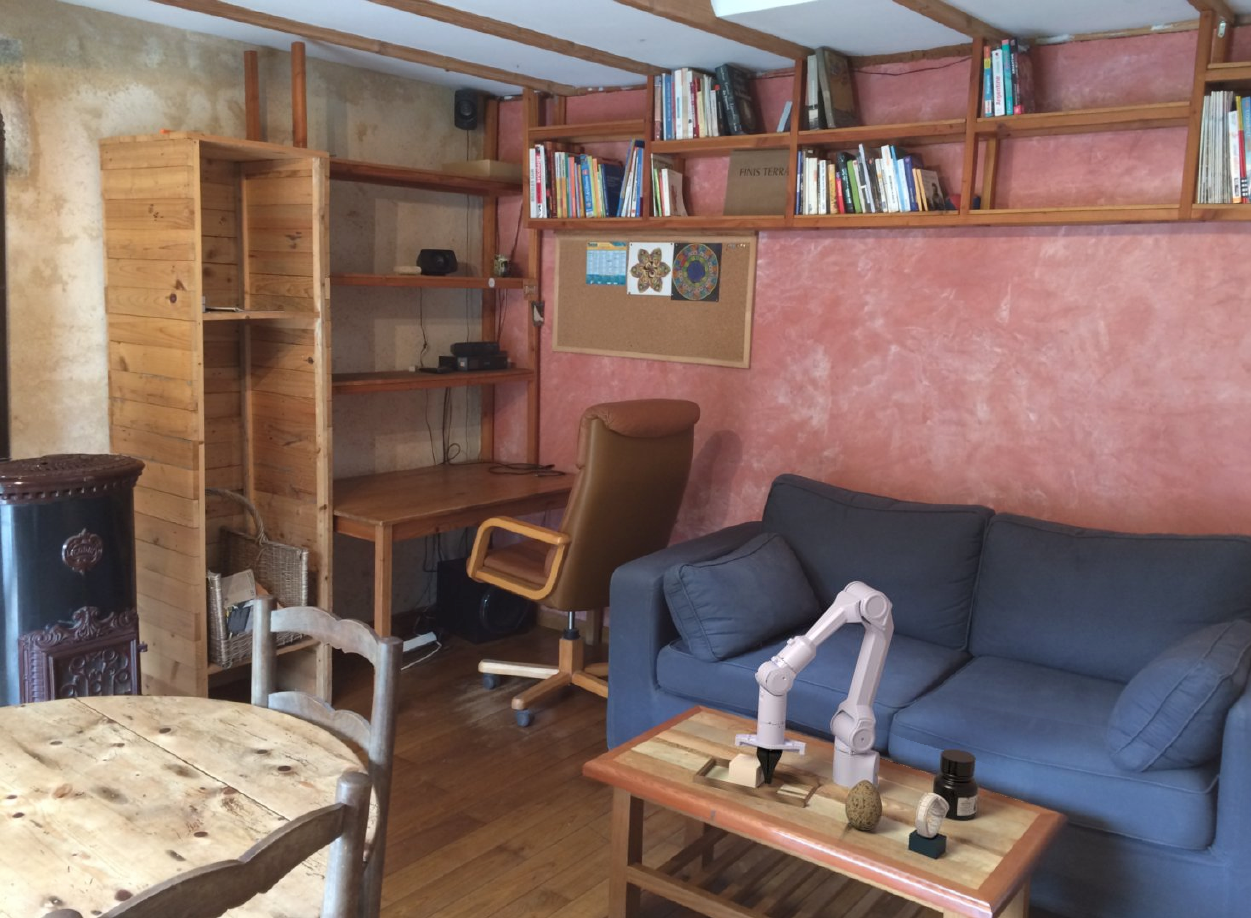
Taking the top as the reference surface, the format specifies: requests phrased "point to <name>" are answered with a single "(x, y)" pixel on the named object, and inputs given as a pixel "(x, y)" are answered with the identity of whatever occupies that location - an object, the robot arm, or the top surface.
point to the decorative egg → (863, 806)
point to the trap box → (718, 775)
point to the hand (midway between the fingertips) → (768, 781)
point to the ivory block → (745, 771)
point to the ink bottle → (957, 784)
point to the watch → (929, 827)
